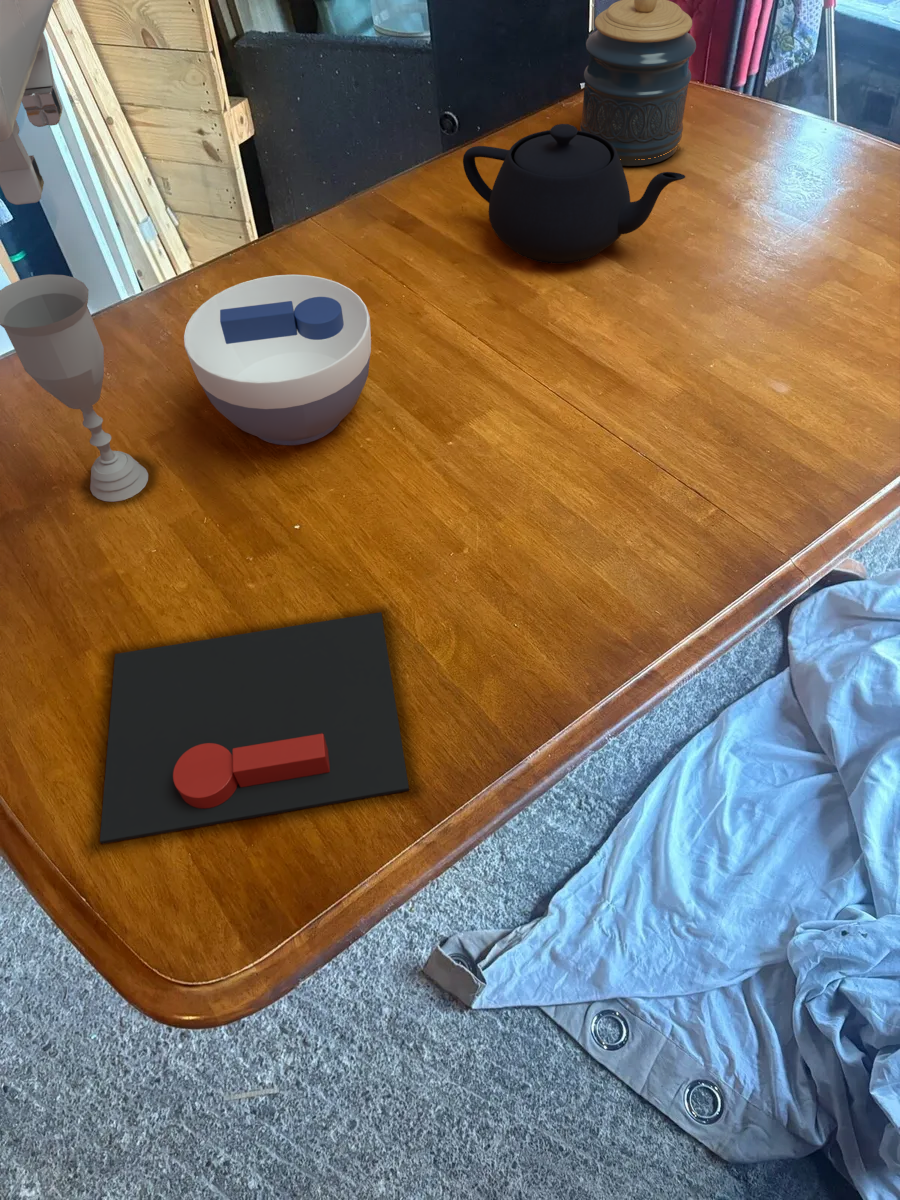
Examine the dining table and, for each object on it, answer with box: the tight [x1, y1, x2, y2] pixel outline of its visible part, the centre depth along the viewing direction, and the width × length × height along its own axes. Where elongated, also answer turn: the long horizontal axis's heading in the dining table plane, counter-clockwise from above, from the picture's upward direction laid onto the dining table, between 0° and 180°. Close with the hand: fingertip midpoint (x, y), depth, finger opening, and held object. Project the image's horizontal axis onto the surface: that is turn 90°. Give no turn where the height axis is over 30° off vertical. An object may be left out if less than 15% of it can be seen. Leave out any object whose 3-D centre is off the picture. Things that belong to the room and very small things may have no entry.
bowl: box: [183, 274, 372, 446], centre depth 80 cm, size 16×16×10 cm
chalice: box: [0, 273, 149, 503], centre depth 72 cm, size 7×7×18 cm
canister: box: [579, 0, 697, 167], centre depth 108 cm, size 13×13×18 cm
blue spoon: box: [220, 297, 344, 344], centre depth 75 cm, size 10×4×2 cm, turn 99°
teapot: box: [462, 123, 686, 265], centre depth 96 cm, size 25×16×12 cm, turn 63°
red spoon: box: [173, 734, 330, 808], centre depth 59 cm, size 10×4×2 cm, turn 100°
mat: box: [99, 611, 410, 845], centre depth 62 cm, size 20×15×1 cm
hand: (39, 157), depth 50 cm, fingers open, 8 cm apart
